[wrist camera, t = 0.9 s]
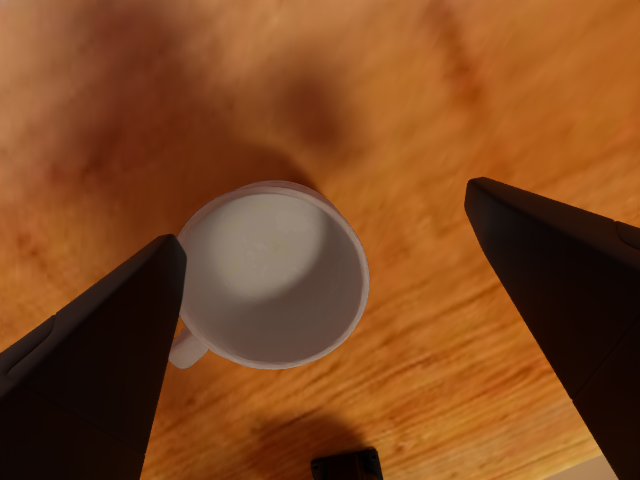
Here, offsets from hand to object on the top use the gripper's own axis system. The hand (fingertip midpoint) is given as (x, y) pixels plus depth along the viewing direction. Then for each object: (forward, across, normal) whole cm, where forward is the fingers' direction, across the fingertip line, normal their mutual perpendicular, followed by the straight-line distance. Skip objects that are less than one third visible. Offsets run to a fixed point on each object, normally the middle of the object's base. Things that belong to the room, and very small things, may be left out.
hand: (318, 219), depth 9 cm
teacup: (+11, +5, +10) cm, 16 cm away
